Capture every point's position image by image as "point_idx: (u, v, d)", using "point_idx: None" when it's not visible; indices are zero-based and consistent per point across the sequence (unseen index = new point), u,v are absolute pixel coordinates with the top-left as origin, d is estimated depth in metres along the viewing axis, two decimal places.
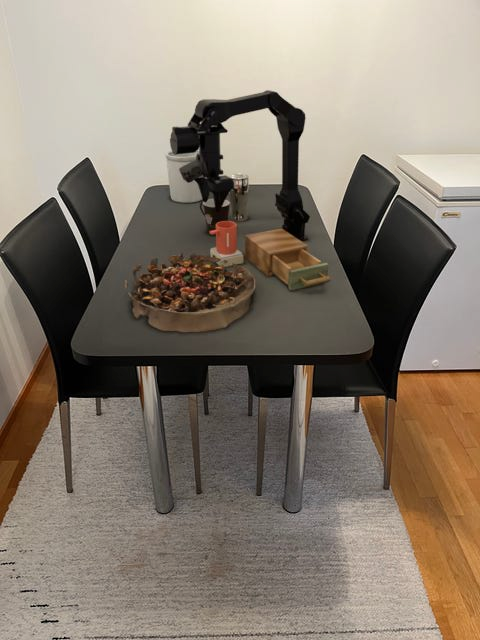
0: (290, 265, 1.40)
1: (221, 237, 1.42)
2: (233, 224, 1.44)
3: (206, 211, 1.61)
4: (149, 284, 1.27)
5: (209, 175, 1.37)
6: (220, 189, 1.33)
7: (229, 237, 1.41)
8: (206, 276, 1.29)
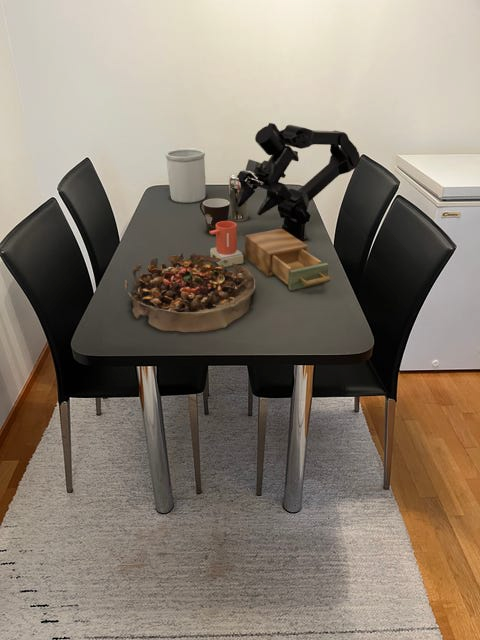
0: (290, 265, 1.40)
1: (221, 237, 1.42)
2: (233, 224, 1.44)
3: (206, 211, 1.61)
4: (149, 284, 1.27)
5: (269, 181, 1.43)
6: (282, 193, 1.38)
7: (229, 237, 1.41)
8: (206, 276, 1.29)
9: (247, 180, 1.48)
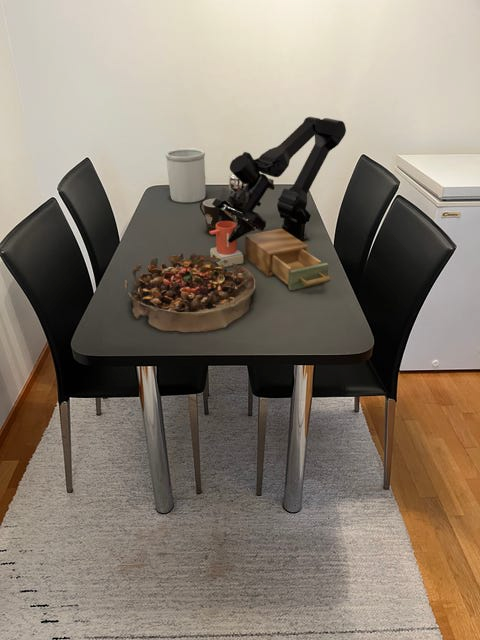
0: (290, 265, 1.40)
1: (221, 237, 1.42)
2: (233, 224, 1.44)
3: (206, 211, 1.61)
4: (149, 284, 1.27)
5: (244, 210, 1.41)
6: (256, 223, 1.37)
7: None
8: (206, 276, 1.29)
9: (225, 209, 1.45)
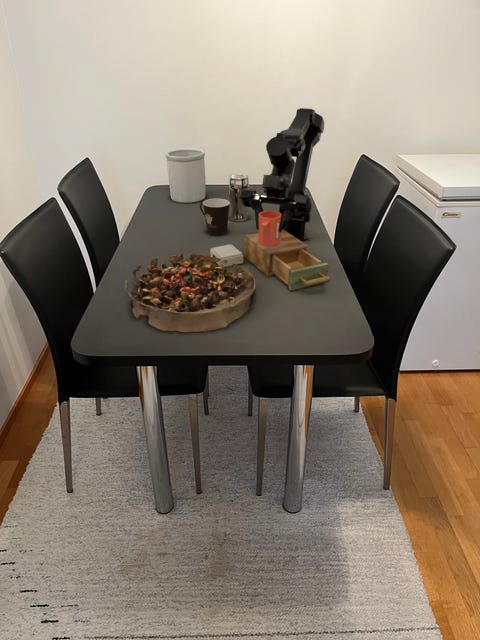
0: (290, 265, 1.40)
1: (271, 228, 1.30)
2: (273, 213, 1.33)
3: (206, 211, 1.61)
4: (149, 284, 1.27)
5: (284, 195, 1.32)
6: (308, 205, 1.29)
7: (278, 227, 1.31)
8: (206, 276, 1.29)
9: (259, 199, 1.33)
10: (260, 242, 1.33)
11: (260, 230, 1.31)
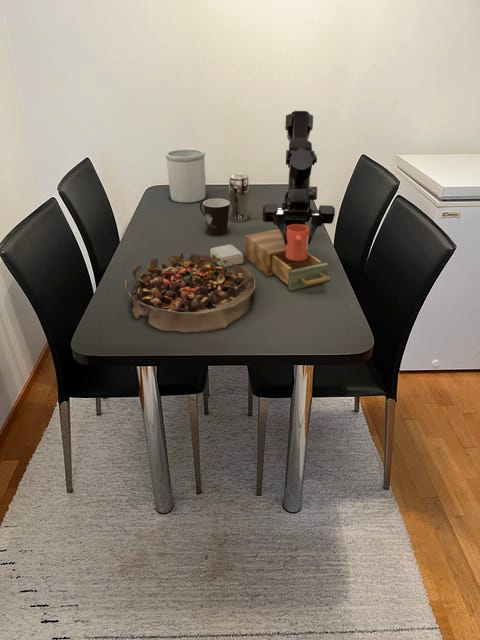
0: (290, 265, 1.40)
1: (302, 242, 1.30)
2: (298, 226, 1.33)
3: (206, 211, 1.61)
4: (149, 284, 1.27)
5: (308, 207, 1.32)
6: (334, 215, 1.31)
7: (308, 239, 1.31)
8: (206, 276, 1.29)
9: (283, 213, 1.32)
10: (289, 256, 1.32)
11: (290, 244, 1.31)
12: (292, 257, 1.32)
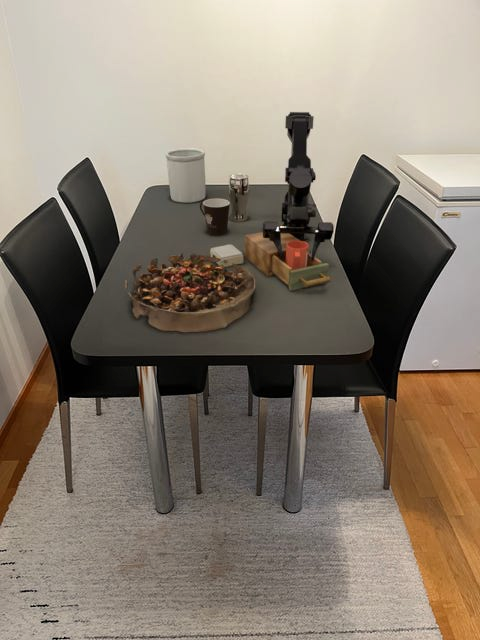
0: None
1: (301, 258, 1.32)
2: (297, 242, 1.35)
3: (206, 211, 1.61)
4: (149, 284, 1.27)
5: (307, 224, 1.34)
6: (332, 232, 1.34)
7: (307, 256, 1.33)
8: (206, 276, 1.29)
9: (278, 230, 1.34)
10: None
11: (289, 261, 1.33)
12: None
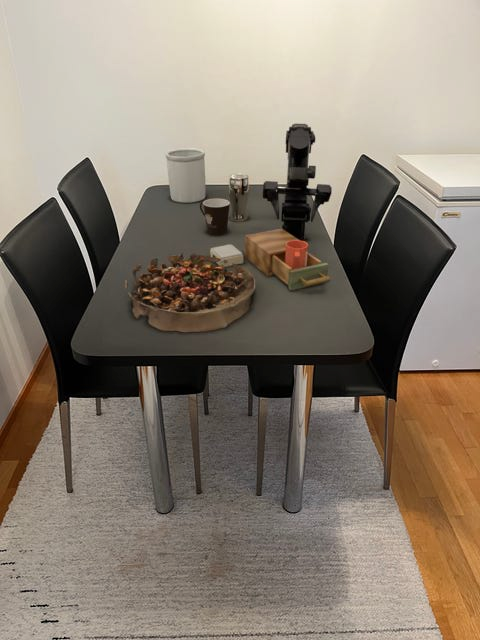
0: None
1: (301, 258, 1.32)
2: (296, 242, 1.35)
3: (206, 211, 1.61)
4: (149, 284, 1.27)
5: (306, 186, 1.39)
6: (330, 194, 1.38)
7: (306, 255, 1.33)
8: (206, 276, 1.29)
9: (276, 190, 1.38)
10: None
11: (289, 260, 1.33)
12: None
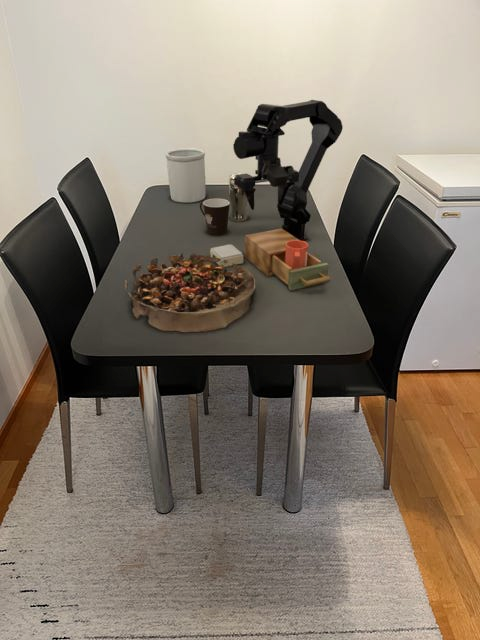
0: None
1: (301, 258, 1.32)
2: (296, 242, 1.35)
3: (206, 211, 1.61)
4: (149, 284, 1.27)
5: None
6: None
7: (306, 255, 1.33)
8: (206, 276, 1.29)
9: None
10: None
11: (289, 260, 1.33)
12: None
